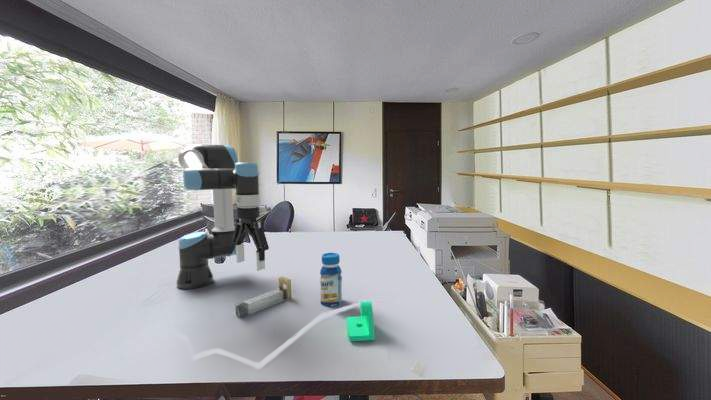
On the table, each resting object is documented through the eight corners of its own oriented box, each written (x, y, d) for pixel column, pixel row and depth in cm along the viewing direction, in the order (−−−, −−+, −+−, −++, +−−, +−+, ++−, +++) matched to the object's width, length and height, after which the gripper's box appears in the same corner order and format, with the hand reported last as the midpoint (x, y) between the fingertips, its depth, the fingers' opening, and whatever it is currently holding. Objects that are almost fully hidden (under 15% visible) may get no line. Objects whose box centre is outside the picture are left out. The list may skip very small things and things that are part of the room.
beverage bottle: (346, 304, 114) (346, 254, 112) (330, 312, 108) (329, 259, 106) (332, 298, 120) (331, 250, 118) (315, 305, 114) (314, 255, 112)
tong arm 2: (280, 299, 116) (280, 290, 116) (283, 300, 115) (282, 290, 115) (238, 316, 102) (237, 305, 102) (240, 318, 101) (239, 306, 101)
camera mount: (346, 324, 100) (346, 295, 99) (368, 323, 100) (368, 294, 100) (349, 344, 88) (348, 311, 87) (374, 343, 89) (374, 310, 88)
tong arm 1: (278, 298, 117) (277, 288, 117) (280, 299, 116) (280, 289, 116) (235, 315, 103) (235, 304, 103) (238, 316, 102) (237, 305, 102)
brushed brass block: (279, 297, 119) (278, 277, 118) (283, 295, 120) (282, 276, 120) (287, 300, 115) (286, 281, 114) (291, 299, 117) (291, 279, 116)
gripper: (220, 205, 108) (223, 261, 110) (257, 210, 92) (260, 276, 94) (240, 203, 114) (242, 256, 116) (278, 208, 98) (279, 270, 100)
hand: (250, 265), depth 105 cm, fingers open, 13 cm apart
